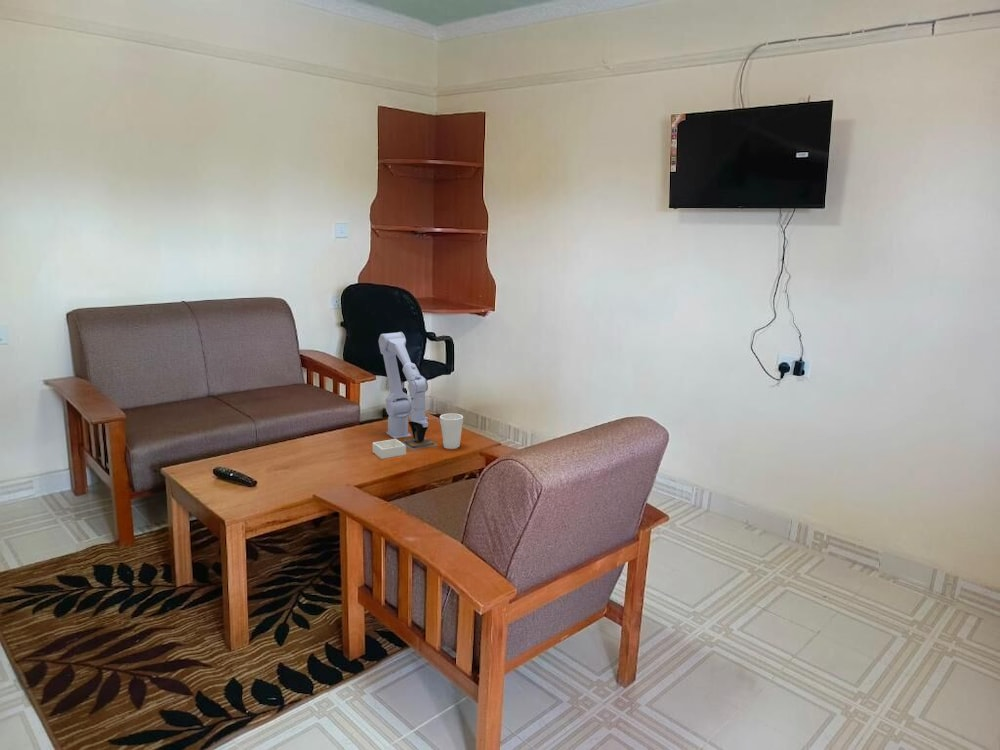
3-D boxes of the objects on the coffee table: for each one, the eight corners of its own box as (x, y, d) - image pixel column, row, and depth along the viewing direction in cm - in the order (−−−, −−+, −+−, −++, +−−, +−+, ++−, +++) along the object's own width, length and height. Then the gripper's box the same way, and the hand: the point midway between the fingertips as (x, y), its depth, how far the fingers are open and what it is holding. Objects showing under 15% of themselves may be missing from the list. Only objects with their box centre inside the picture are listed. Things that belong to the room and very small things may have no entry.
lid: (403, 442, 291) (403, 430, 290) (424, 438, 296) (424, 427, 295) (412, 448, 283) (412, 436, 282) (434, 444, 288) (434, 433, 287)
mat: (399, 442, 292) (399, 441, 292) (425, 438, 298) (425, 437, 298) (411, 450, 282) (411, 449, 282) (438, 446, 288) (438, 445, 288)
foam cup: (464, 444, 291) (464, 414, 288) (461, 451, 282) (461, 420, 279) (442, 443, 291) (441, 413, 289) (437, 450, 282) (437, 419, 280)
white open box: (372, 452, 280) (372, 442, 279) (396, 448, 285) (395, 438, 284) (382, 459, 271) (382, 449, 270) (406, 455, 276) (406, 445, 275)
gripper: (435, 410, 282) (435, 443, 285) (419, 402, 294) (419, 433, 297) (418, 413, 279) (419, 445, 282) (404, 404, 291) (404, 436, 294)
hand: (418, 439), depth 289 cm, fingers open, 4 cm apart
